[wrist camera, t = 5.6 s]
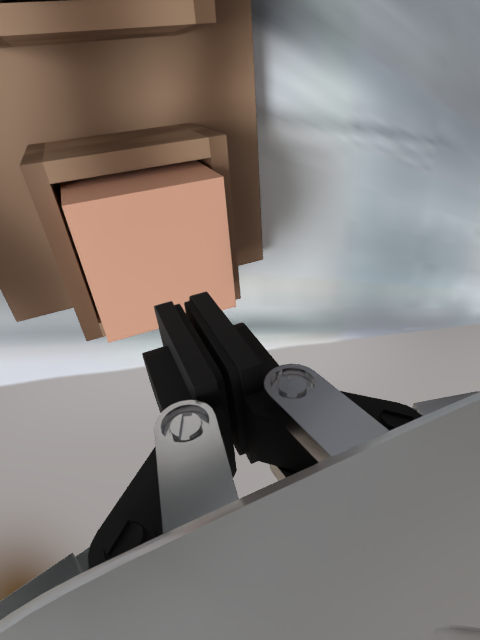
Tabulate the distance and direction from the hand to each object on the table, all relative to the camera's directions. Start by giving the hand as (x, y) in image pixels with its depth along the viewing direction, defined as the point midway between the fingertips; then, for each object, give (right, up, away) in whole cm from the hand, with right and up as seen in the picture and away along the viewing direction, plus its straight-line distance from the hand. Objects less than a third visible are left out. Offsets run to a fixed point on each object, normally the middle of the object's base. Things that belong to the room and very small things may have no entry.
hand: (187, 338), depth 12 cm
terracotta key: (-3, +5, +8) cm, 10 cm away
